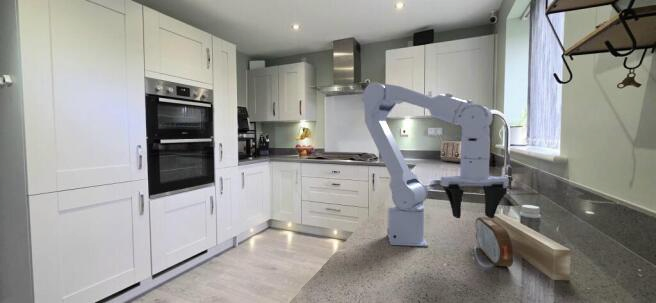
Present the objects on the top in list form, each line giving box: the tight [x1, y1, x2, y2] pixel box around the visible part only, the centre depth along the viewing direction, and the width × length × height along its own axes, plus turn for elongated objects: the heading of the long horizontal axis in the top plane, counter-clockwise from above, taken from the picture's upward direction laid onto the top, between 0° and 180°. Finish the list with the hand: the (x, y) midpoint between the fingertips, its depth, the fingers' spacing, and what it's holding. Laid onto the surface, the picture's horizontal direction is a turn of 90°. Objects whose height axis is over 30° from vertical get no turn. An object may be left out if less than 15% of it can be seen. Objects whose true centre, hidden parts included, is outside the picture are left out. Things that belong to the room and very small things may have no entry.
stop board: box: [492, 213, 572, 281], centre depth 63 cm, size 3×24×6 cm, turn 173°
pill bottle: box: [519, 204, 542, 234], centre depth 74 cm, size 5×5×8 cm
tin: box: [475, 216, 515, 268], centre depth 61 cm, size 15×3×8 cm, turn 168°
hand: (472, 216), depth 61 cm, fingers open, 7 cm apart
